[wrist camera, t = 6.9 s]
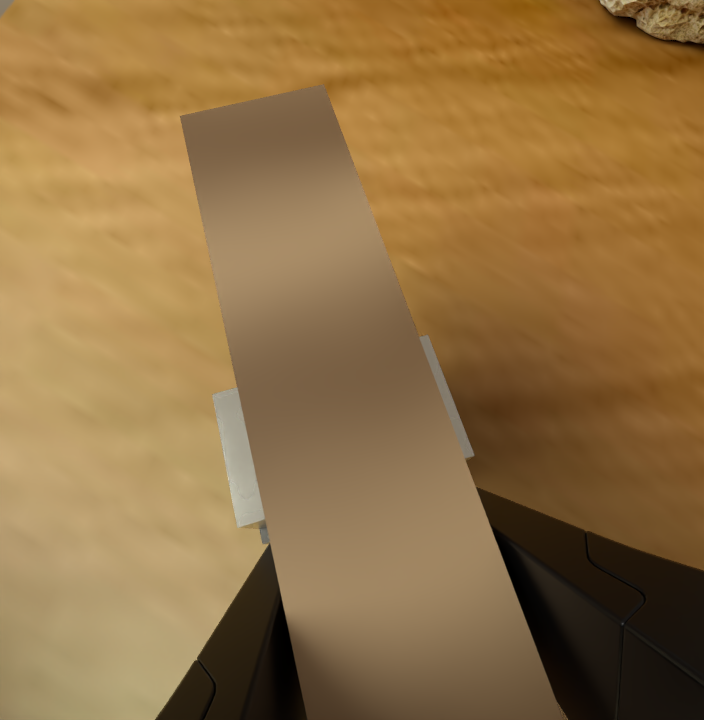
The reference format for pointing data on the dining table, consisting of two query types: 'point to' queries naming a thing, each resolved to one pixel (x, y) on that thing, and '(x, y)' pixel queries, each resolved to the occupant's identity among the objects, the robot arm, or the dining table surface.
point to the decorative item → (664, 17)
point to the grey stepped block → (241, 458)
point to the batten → (352, 435)
